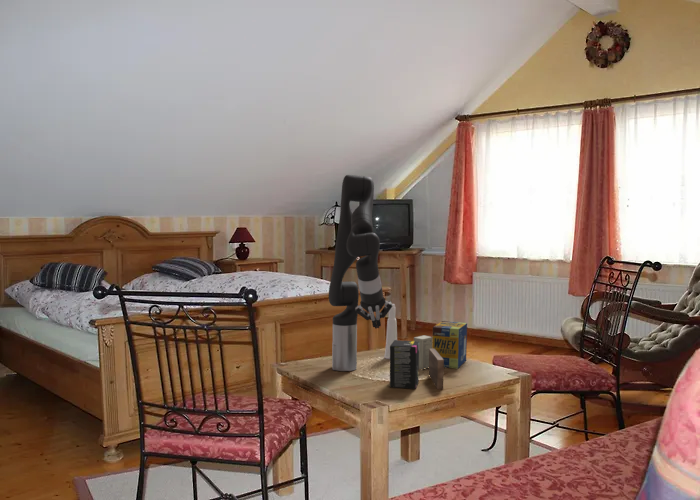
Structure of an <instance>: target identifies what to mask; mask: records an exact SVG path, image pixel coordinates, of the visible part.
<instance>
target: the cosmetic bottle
mask: <svg viewBox="0 0 700 500" xmlns="http://www.w3.org/2000/svg"><path fill="white" fill-rule="evenodd" d="M396 310H397V307H396V304H395V303H392V308H391V309H390V310H389V312H388V318H387V322H386V323H387V324H386V337H385V338H386V340H385V351H384V356H383V358H384V359H387V360H390V345H391V344H392V343H393V341H394V340H398V326H397V322H398V321H397V318H396Z"/></svg>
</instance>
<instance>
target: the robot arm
mask: <svg viewBox="0 0 700 500" xmlns="http://www.w3.org/2000/svg"><path fill="white" fill-rule="evenodd" d="M374 185H375V183H374V179H373V178H372V177H370V176H366V175H357V174H345V175H344V177H343V180H342V185H341V195H340V196H341V197H340V209H339V210H340V211H339V221H338V226H337V227H338V229H337V233H336V234H337V235H336V239H335V247H334V248H335V250H334V262H333V266H332V271H331V272H332V273H331V277H330V281H329V288H328V301H329V302H328V303H329V304H330V305H331V306H333V307H345V308H344V310H343V311H341V312H339V313H337V314H335V315H333V317H332V348H331V351H332V353H331V354H332V355H331V358H332V361H331V364H332V365H331V368H332V371H338V372H339V371H340V372H350V371H355V370H357V365H358V364H357V363H358V359H357V356H358V355H357V354H358V351H357V349H358V347H357V346H358V316H361V318H364V320H366V321H369V320H370V321H371V323H372V327H373V328H375V329H380V327H381V326H382V325H381V324H382V323H381V322H382V321H381V319H384V318H385V317H386V316H387V315H388V314H389V310H390V309H391V308H392V304H393V303H392V301H391V300H386V298H385V296H384V292H383V286H382V281H381V280H382V279H381V276H380V272H379V270H380V269H379V265H378V258H379V252H380V248H381V247H380V246H381V242H380V241H381V240H380V237H379V236H378V235H377V234H376V233H375V232H373V231H374V226H373V207H374V194H375V186H374ZM351 202H359V203H361V204H360V205H358V206H357V207H356V208H355V209H354V210H353V211H352V209H351V204H350V203H351ZM358 257H361V258H359V259H358ZM357 259H358V260H357ZM355 261H356V262H355ZM354 262H355V269H356V274H357V282H356V281H343V279H344V277H345V275H346V273H347V271H348V270H349V268H350V267H351V266H352V265H353V264H354ZM357 283H358V284H357ZM359 295H360V299H359ZM359 300H360V302H359Z"/></svg>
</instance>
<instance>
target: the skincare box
mask: <svg viewBox="0 0 700 500" xmlns="http://www.w3.org/2000/svg"><path fill="white" fill-rule="evenodd" d="M413 341H419V369H424V368H428V367H429V349H432V342H433V336H430V335H418V336H414V337H413Z"/></svg>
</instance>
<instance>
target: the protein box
mask: <svg viewBox="0 0 700 500" xmlns="http://www.w3.org/2000/svg"><path fill="white" fill-rule="evenodd" d="M467 341H468V323H467V322H459V321H449V320H448V321H447V320H442V321H440V322H439V323H436V324H435V325H434V326H432V349H435V350H436V351H437V352H438V353H439V355H440V356H441V357H442V358H443V360H444V368H449V369H457V370H458V369H459V368H460V367H461V366H462V365H463V364H464V363H465V362H466V361H467V346H468V344H467V343H468V342H467Z"/></svg>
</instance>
